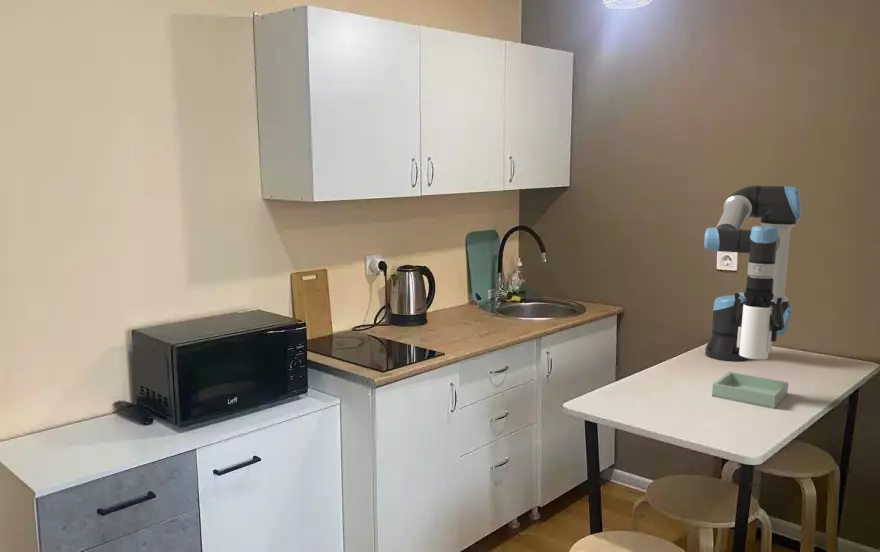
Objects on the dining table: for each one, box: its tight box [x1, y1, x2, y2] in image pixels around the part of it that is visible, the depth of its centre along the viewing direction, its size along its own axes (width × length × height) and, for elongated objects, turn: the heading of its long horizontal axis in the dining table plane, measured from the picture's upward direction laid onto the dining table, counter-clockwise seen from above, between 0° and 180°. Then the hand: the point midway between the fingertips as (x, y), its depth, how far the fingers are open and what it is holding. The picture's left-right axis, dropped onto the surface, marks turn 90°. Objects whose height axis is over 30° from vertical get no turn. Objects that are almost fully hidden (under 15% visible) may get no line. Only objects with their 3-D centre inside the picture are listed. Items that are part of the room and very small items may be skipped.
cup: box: [739, 303, 772, 360], centre depth 223 cm, size 8×8×16 cm
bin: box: [711, 371, 789, 410], centre depth 226 cm, size 18×18×4 cm
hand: (754, 348), depth 224 cm, fingers closed on cup, 8 cm apart
